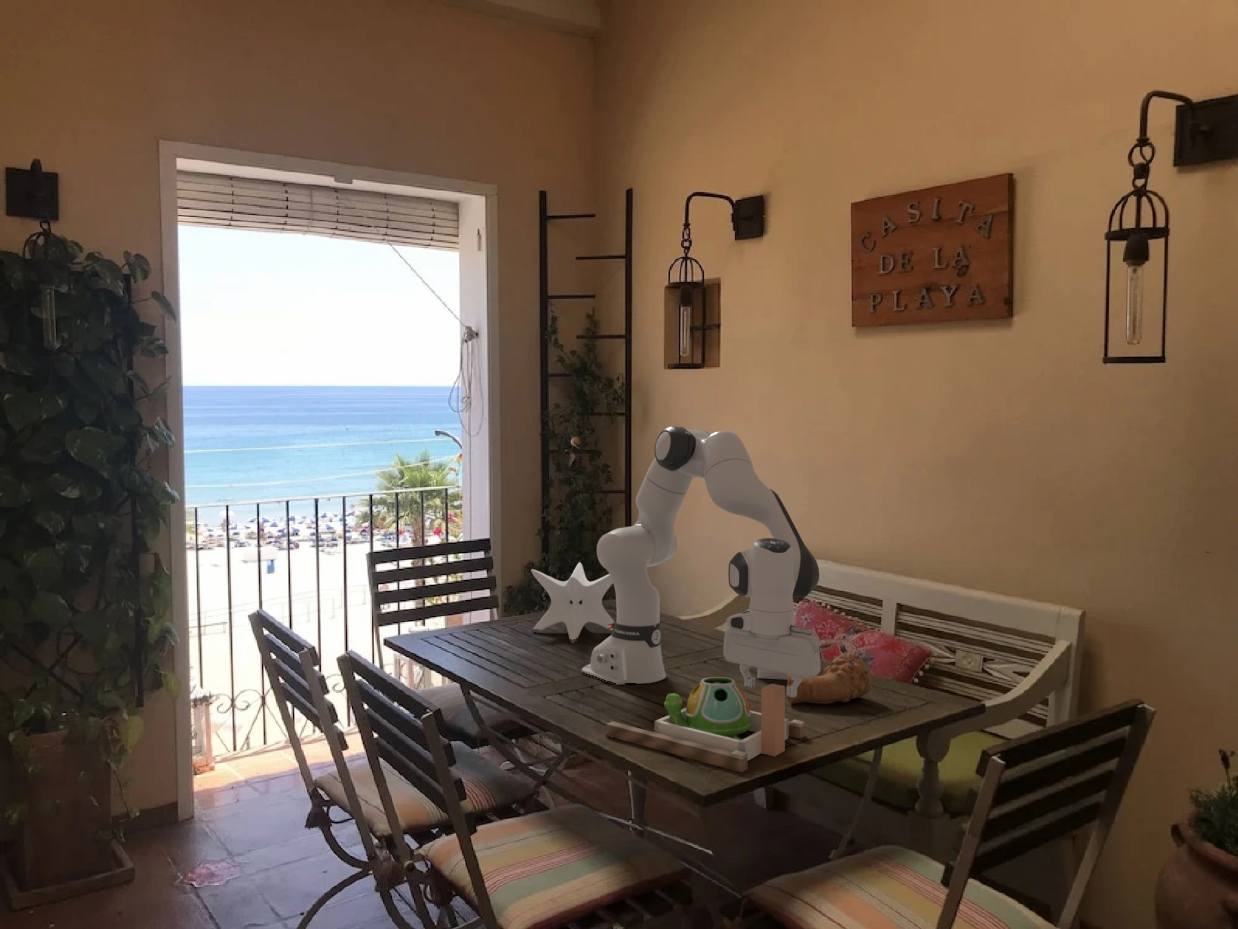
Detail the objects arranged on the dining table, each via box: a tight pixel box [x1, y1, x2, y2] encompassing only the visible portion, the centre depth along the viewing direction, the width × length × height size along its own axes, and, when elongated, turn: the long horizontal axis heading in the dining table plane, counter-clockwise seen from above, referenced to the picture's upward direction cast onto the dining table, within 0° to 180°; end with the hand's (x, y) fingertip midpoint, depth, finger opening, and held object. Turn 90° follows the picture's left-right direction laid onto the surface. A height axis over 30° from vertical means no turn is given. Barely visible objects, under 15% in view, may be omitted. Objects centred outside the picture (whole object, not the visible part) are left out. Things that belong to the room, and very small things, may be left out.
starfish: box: [530, 562, 615, 640], centre depth 289 cm, size 20×20×20 cm
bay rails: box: [605, 696, 806, 773], centre depth 195 cm, size 33×25×3 cm
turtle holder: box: [663, 676, 751, 740], centre depth 194 cm, size 12×18×12 cm
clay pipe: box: [786, 652, 873, 705], centre depth 219 cm, size 19×11×15 cm
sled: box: [654, 683, 789, 762], centre depth 191 cm, size 24×18×13 cm
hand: (770, 691), depth 184 cm, fingers open, 8 cm apart
